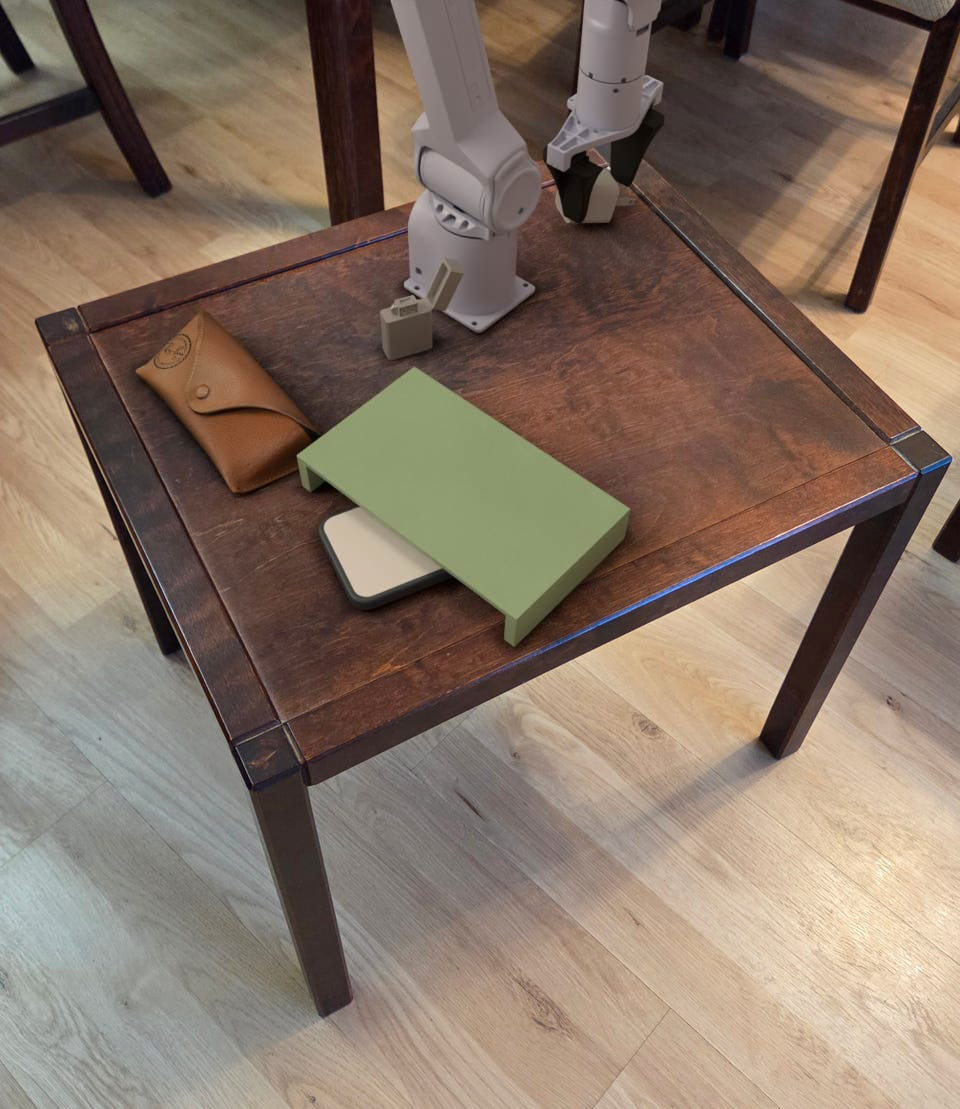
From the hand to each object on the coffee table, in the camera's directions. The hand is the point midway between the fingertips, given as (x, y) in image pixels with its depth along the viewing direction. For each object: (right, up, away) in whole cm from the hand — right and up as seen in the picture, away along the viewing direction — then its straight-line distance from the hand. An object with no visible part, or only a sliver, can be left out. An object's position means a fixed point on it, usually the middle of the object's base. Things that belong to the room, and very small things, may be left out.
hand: (597, 199), depth 102 cm
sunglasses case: (-32, -23, -14) cm, 42 cm away
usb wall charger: (0, -1, +1) cm, 2 cm away
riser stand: (-13, -31, -20) cm, 39 cm away
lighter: (-16, -16, -9) cm, 25 cm away
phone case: (-15, -33, -22) cm, 42 cm away
